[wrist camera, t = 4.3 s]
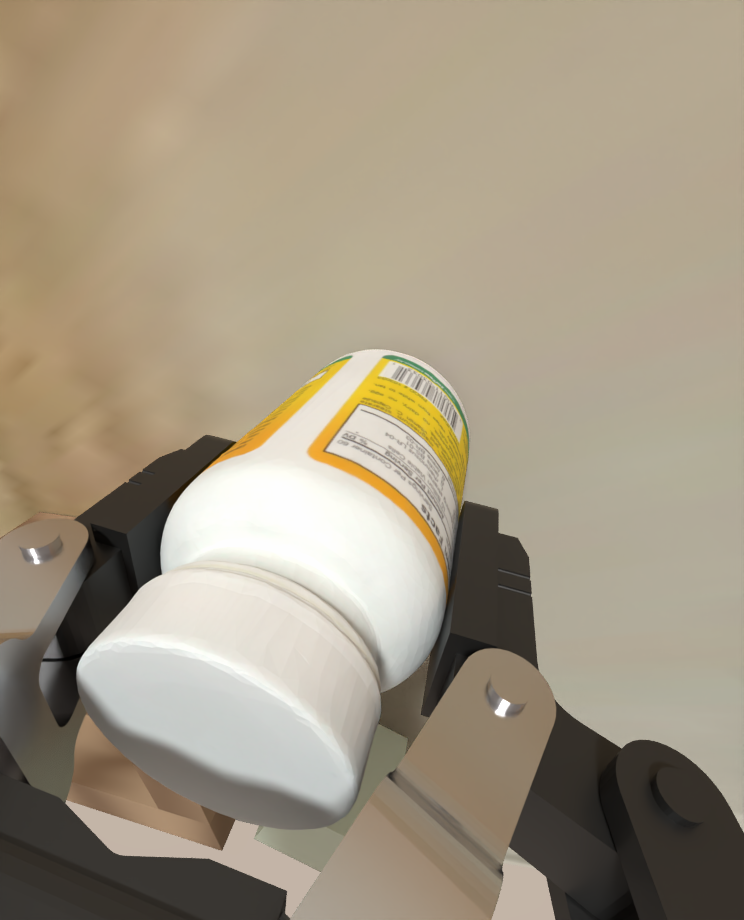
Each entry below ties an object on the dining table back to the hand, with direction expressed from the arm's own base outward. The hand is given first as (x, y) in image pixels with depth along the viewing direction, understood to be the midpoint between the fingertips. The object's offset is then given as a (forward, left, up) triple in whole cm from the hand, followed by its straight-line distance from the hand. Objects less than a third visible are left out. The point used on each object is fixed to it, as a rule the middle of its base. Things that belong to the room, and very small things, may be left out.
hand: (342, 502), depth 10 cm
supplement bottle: (0, 0, -4) cm, 4 cm away
